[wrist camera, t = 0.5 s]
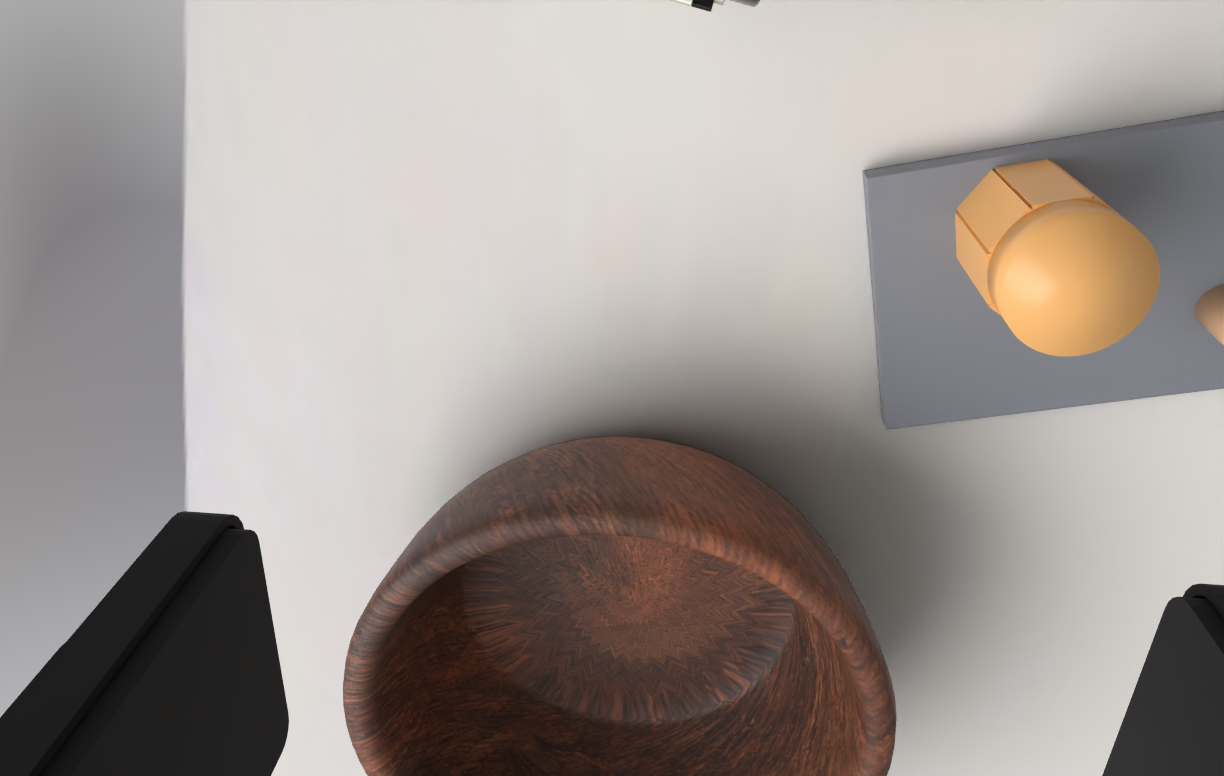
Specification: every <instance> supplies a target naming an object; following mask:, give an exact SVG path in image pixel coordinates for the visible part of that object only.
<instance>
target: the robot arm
mask: <svg viewBox="0 0 1224 776" xmlns="http://www.w3.org/2000/svg"><path fill="white" fill-rule="evenodd" d="M288 725H289V717H288V709H287V703H286V697H285V691H284V685H283V680H282V674H281V668H280V662H279V656H278V650H277V644H276V638H275V632H274V627H273V621H272V615H271V609H270V603H269V597H268V591H267V585H266V579H265V574H264V568H263V562H262V556H261V550H260V544H259V540H258V536H257V535H256V533H255V532H254V531H252V530H244V528H243V524H242V522H241V521H240V519H239V518H238V517H237V516H235V515H228V514H214V513H200V512H186V511H184V512H180V513H177V514H176V515H175V516H174V517H172V518H171V519H170V521H169V522H168V523H167V524H166V525H165V526H164V528H163V529H162V530H161V531H160V532H159V533H158V535H157V536H156V537H155V538H154V539H153V541H152V542H151V543H150V544H149V545H148V546H147V548H146V549H145V550H144V551H143V552H142V553H141V555H140V556H139V557H138V558H137V559H136V561H135V562H134V563H133V564H132V565H131V567H130V568H129V569H128V570H127V571H126V572H125V573H124V575H123V576H122V577H121V578H120V579H119V581H118V582H117V583H116V584H115V585H114V586H113V588H112V589H111V590H110V591H109V592H108V594H107V595H106V596H105V597H104V598H103V599H102V601H101V602H100V603H99V604H98V605H97V607H96V608H95V609H94V610H93V611H92V612H91V614H90V615H89V616H88V617H87V618H86V619H85V621H84V622H83V623H82V624H81V625H80V627H79V628H78V629H77V630H76V631H75V633H74V634H73V635H72V636H71V637H70V638H69V639H68V641H67V642H66V643H65V644H63V645H62V646H61V647H60V648H59V650H58V651H57V652H56V653H55V654H54V655H53V656H52V658H51V659H50V660H49V661H48V662H47V664H46V665H45V666H44V667H43V668H42V669H41V671H40V672H39V673H38V674H37V675H36V676H35V678H34V679H33V680H32V681H31V682H30V683H29V685H28V686H27V687H26V688H25V689H24V690H23V692H22V693H21V694H20V695H19V696H18V698H17V699H16V700H15V701H14V702H13V703H12V705H11V706H10V707H9V708H8V709H7V710H6V712H5V713H4V714H3V715H2V716H1V718H0V776H271V774H272V772H273V770H274V768H275V766H276V764H277V762H278V760H279V758H280V755H281V753H282V751H283V748H284V746H285V742H286V739H287V733H288ZM1103 776H1224V585H1211V584H1196V585H1192V586H1191V587H1190V588H1189V589H1188V590H1186V592H1185V594H1184V596H1183V597H1175V598H1172V599H1171V600H1170V601H1169V602H1168V604H1167V606H1166V608H1165V610H1164V612H1163V615H1162V618H1161V620H1160V623H1159V626H1158V628H1157V631H1156V634H1155V637H1154V639H1153V642H1152V645H1151V647H1150V650H1149V653H1148V655H1147V658H1146V661H1145V663H1144V666H1143V669H1142V671H1141V674H1140V677H1139V679H1138V682H1137V685H1136V687H1135V690H1134V693H1133V695H1132V698H1131V701H1130V703H1129V706H1128V709H1127V711H1126V714H1125V717H1124V719H1123V722H1122V725H1121V727H1120V730H1119V733H1118V735H1117V738H1116V741H1115V743H1114V746H1113V749H1112V751H1111V754H1110V757H1109V759H1108V762H1107V765H1106V768H1105V770H1104V773H1103Z"/></svg>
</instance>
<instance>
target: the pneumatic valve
mask: <svg viewBox="0 0 1224 776" xmlns="http://www.w3.org/2000/svg"><path fill="white" fill-rule="evenodd" d="M671 1H675V2H678V3H682V4H685V5H689V6H692V7H696V8H699V9H703V10H706V11H710V12H711V9H712V6H713V3H715V4H719V5H723V4H724V1H725V0H671ZM731 1H734V2H738V3H741V4H745V5H748V6H752V7H755V6H757V4H758V3H759V1H760V0H731Z"/></svg>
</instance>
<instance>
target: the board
mask: <svg viewBox="0 0 1224 776" xmlns="http://www.w3.org/2000/svg"><path fill="white" fill-rule="evenodd" d="M1044 159H1048V160H1049V161H1050V160H1052V161H1053V162H1054V163H1056V164H1057V165H1058V166H1060V167H1061V168H1062V169H1063V170H1065V171H1066V172H1067V173H1069V174H1070V175H1071V176H1072V177H1074V178H1075V179H1076V180H1078V181H1079V182H1080V183H1081V184H1083V185H1084V186H1085V187H1087V188H1088V189H1089V190H1090V191H1092V192H1093V193H1094V194H1095V195H1097V196H1098V197H1099V198H1100V199H1101V200H1103V201H1104V202H1105V203H1106V204H1108V205H1109V206H1110V207H1111V208H1113V209H1114V210H1115V211H1116V212H1117V213H1119V214H1120V215H1121V216H1122V217H1124V218H1125V219H1126V220H1127V221H1129V222H1130V223H1131V224H1132V225H1133V226H1135V227H1136V228H1137V230H1139V231H1140V232H1141V233H1142V234H1143V235H1144V236H1145V237H1146V238H1147V239H1148V240H1149V242H1150V243H1151V244H1152V246H1153V248H1154V250H1155V251H1156V254H1157V257H1158V260H1159V266H1160V282H1159V288H1158V292H1157V295H1156V298H1155V300H1154V302H1153V305H1152V307H1151V308H1150V310H1149V312H1148V313H1147V315H1146V316H1145V317H1144V319H1143V320H1142V321H1141V322H1140V324H1139V325H1138V326H1137V327H1136V328H1135V329H1134V330H1133V331H1131V332H1130V333H1129V334H1128V335H1127V336H1125V337H1124V338H1122V339H1121V340H1119V341H1118V342H1116V343H1114V344H1113V345H1111V346H1109V347H1107V348H1104V349H1102V350H1099V351H1097V352H1093V353H1090V354H1085V355H1080V356H1069V357H1066V356H1054V355H1048V354H1045V353H1041V352H1039V351H1036V350H1034V349H1032V348H1030V347H1029V346H1027V345H1025V344H1024V343H1023V342H1021V341H1020V340H1019V339H1018V338H1017V337H1016V336H1015V335H1014V333H1013V332H1012V331H1011V329H1010V328H1009V326H1008V325H1007V323H1006V322H1005V321H1004V319H1003V318H1002V316H1001V315H999V314H998V313H997V312H995V311H994V310H993V309H991V308H990V307H989V306H988V305H987V303H986V302H985V300H984V299H983V297H982V296H981V294H980V293H979V291H978V290H977V288H976V287H975V285H974V283H973V282H972V280H971V279H970V277H969V276H968V274H967V273H966V271H965V270H964V268H963V267H962V265H961V264H960V262H959V261H958V259H957V257H956V227H955V212H958V210H957V209H956V208H957V207H958V206H959V205H960V204H961V203H962V202H963V201H964V200H965V198H966V197H967V196H968V195H969V194H970V193H971V192H972V191H973V190H974V188H975V187H976V186H977V185H978V184H979V183H980V182H981V181H982V180H983V178H984V177H985V176H986V175H987V174H988V173H989V172H990V171H991V169H992V170H993V171H994V172H995V167H1001V166H1007V165H1013V164H1019V163H1026V162H1032V161H1038V160H1044ZM863 180H864V193H865V206H866V219H867V232H868V245H869V258H870V270H871V283H872V296H873V309H874V322H875V335H876V348H877V360H878V373H879V386H880V399H881V412H882V419H883V422H884V425H885V428H886V430H887V429H895V428H903V427H911V426H920V425H928V424H936V423H944V422H952V421H961V420H969V419H977V418H985V417H993V416H1001V415H1010V414H1018V413H1026V412H1034V411H1042V410H1051V409H1059V408H1067V407H1075V406H1083V405H1091V404H1100V403H1108V402H1116V401H1124V400H1132V399H1141V398H1149V397H1157V396H1165V395H1173V394H1181V393H1190V392H1198V391H1206V390H1214V389H1222V388H1224V111H1220V112H1214V113H1208V114H1202V115H1196V116H1190V117H1184V118H1178V119H1172V120H1166V121H1160V122H1154V123H1148V124H1142V125H1136V126H1129V127H1123V128H1117V129H1111V130H1105V131H1099V132H1093V133H1087V134H1081V135H1075V136H1069V137H1063V138H1057V139H1051V140H1045V141H1039V142H1033V143H1027V144H1021V145H1015V146H1009V147H1003V148H997V149H991V150H985V151H979V152H973V153H967V154H961V155H955V156H949V157H943V158H937V159H931V160H925V161H919V162H913V163H907V164H901V165H895V166H889V167H883V168H877V169H871V170H865V171H863Z"/></svg>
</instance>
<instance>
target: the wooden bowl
mask: <svg viewBox="0 0 1224 776" xmlns="http://www.w3.org/2000/svg"><path fill="white" fill-rule="evenodd" d="M343 702H344V712H345V718H346V724H347V728H348V731H349V735H350V738H351V741H352V745H353V747H354V749H355V752H356V754H357V756H358V759H359V761H360V763H361V765H362V767H363V768H364V770H365V772H366V774H367V775H368V776H887V774H888V771H889V768H890V764H891V760H892V755H893V750H894V743H895V730H896V707H895V696H894V692H893V687H892V682H891V677H890V674H889V671H888V668H887V665H886V662H885V659H884V657H883V654H882V651H881V648H880V645H879V642H878V640H877V638H876V635H875V633H874V631H873V629H872V626H871V624H870V622H869V619H868V617H867V615H866V613H865V610H864V608H863V606H862V604H861V602H860V600H859V598H858V596H857V594H856V592H855V590H854V588H853V586H852V584H851V582H850V580H849V578H848V576H847V574H846V573H845V571H844V569H843V568H842V566H841V565H840V563H839V561H838V560H837V558H836V557H835V555H834V554H833V552H832V551H831V549H830V548H829V546H828V545H827V543H826V542H825V541H824V540H823V538H822V537H821V536H820V535H819V534H818V532H817V531H816V530H815V529H814V528H813V526H812V525H811V524H810V523H809V522H808V521H807V519H806V518H805V517H804V516H803V515H802V514H801V513H800V512H799V511H798V510H797V509H796V508H795V507H794V506H793V505H792V504H791V503H790V502H789V501H787V500H786V499H785V498H784V497H782V496H781V495H780V494H778V493H777V492H776V491H775V490H773V489H772V488H771V487H769V486H768V485H767V484H765V483H764V482H762V481H761V480H759V479H758V478H756V477H755V476H753V475H752V474H750V473H749V472H747V471H745V470H744V469H742V468H740V467H738V466H736V465H734V464H732V463H730V462H728V461H726V460H724V459H721V458H719V457H717V456H714V455H712V454H709V453H707V452H704V451H701V450H698V449H695V448H691V447H688V446H685V445H680V444H676V443H672V442H667V441H662V440H655V439H648V438H638V437H595V438H586V439H578V440H572V441H567V442H562V443H558V444H554V445H550V446H547V447H544V448H540V449H537V450H534V451H532V452H529V453H527V454H524V455H522V456H519V457H517V458H515V459H512V460H510V461H508V462H506V463H504V464H502V465H500V466H498V467H496V468H494V469H492V470H491V471H489V472H487V473H485V474H484V475H482V476H481V477H479V478H478V479H476V480H475V481H473V482H472V483H471V484H469V485H468V486H467V487H465V488H464V489H463V490H461V491H460V492H459V493H458V494H457V495H455V496H454V497H453V498H452V499H451V500H449V501H448V502H447V503H446V504H445V505H443V507H442V508H441V509H440V510H439V511H438V512H437V513H436V514H435V515H434V516H433V517H432V518H431V519H430V520H429V521H428V522H427V523H426V524H425V525H424V527H423V528H422V529H421V530H420V531H419V532H418V533H417V534H416V536H415V537H414V538H413V540H412V541H411V542H410V543H409V545H408V546H407V547H406V549H405V550H404V551H403V553H402V554H401V555H400V557H399V558H398V559H397V561H396V562H395V564H394V565H393V566H392V568H391V569H390V571H389V572H388V573H387V575H386V576H385V578H384V579H383V581H382V582H381V583H380V585H379V586H378V588H377V589H376V591H375V593H374V594H373V596H372V598H371V599H370V601H369V603H368V605H367V607H366V608H365V610H364V612H363V614H362V615H361V617H360V619H359V621H358V623H357V626H356V628H355V631H354V633H353V636H352V638H351V641H350V645H349V649H348V653H347V657H346V664H345V673H344V683H343Z"/></svg>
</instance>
